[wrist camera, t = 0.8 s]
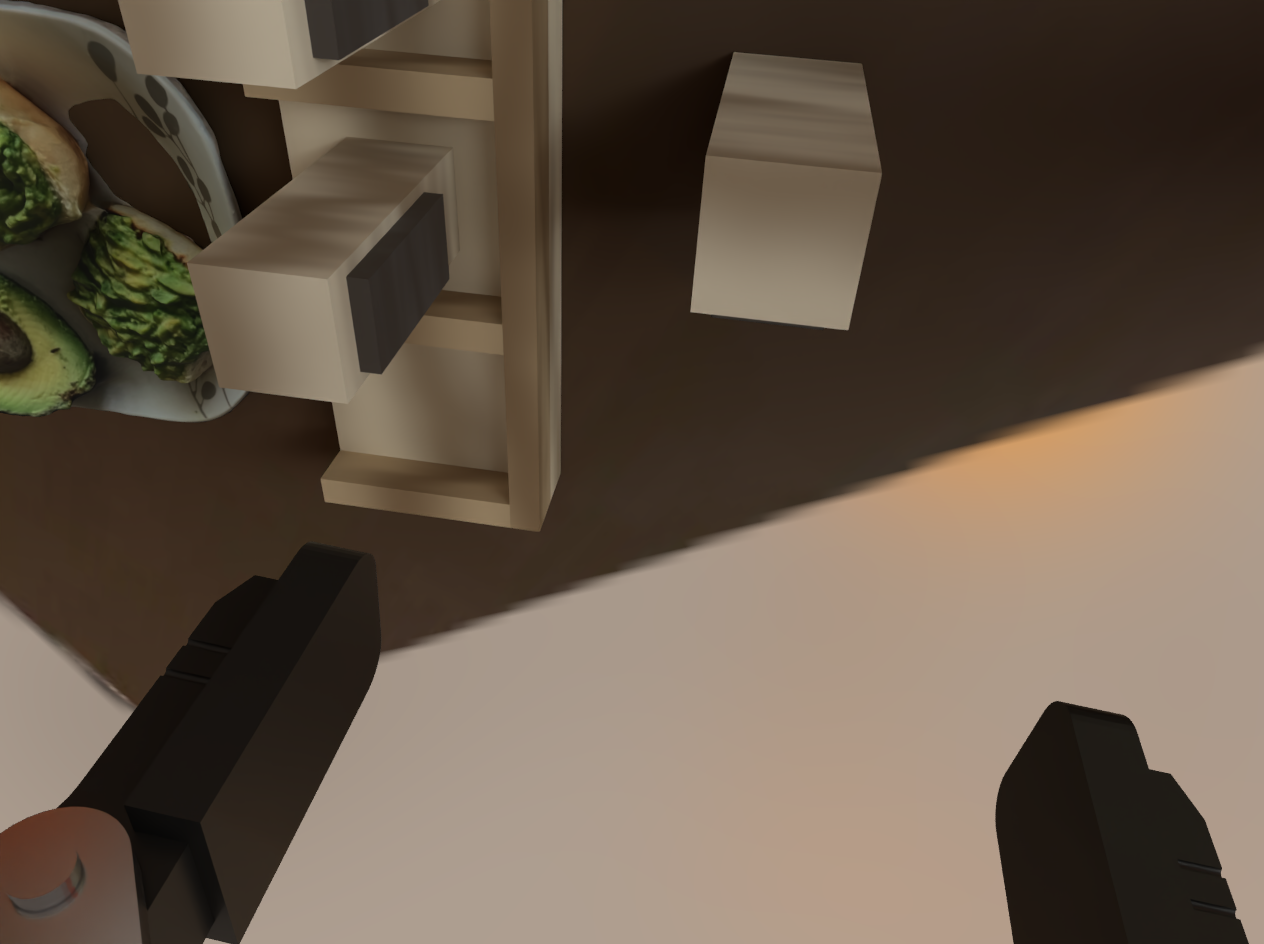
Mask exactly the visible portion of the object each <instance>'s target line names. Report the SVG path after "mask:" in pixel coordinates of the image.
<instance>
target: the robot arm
mask: <svg viewBox="0 0 1264 944" xmlns="http://www.w3.org/2000/svg"><path fill="white" fill-rule="evenodd" d="M380 649H381V627H380V614H379V601H378V587H377V574H376V564H375V559H374V557H373V555H371V554H369V553H364V552H359V551H354V550H350V549H345V548H340V547H335V546H331V545H326V544H321V543H316V542H308V543H306V544H305V545H304V546H303V547H302V548H301V549H300V550H299V551H298V552H297V554H296V555H295V557H294V558H293V560H292V561H291V563H290V564H289V566H288V567H287V568H286V570H285V571H284V573H283V574H282V576H281V577H280V579H279V580H275V579H270V578H265V577H261V576H256V575H255V576H253V577H252V578H250V579H249V580H247V581H246V582H244V583H243V584H242V585H240V586H239V587H237V588H236V589H234V590H233V591H231V592H230V593H228V594H227V595H225V596H224V597H223V598H221V599H220V600H218V601H217V602H215V603H214V605H213V606H212V607H211V609H210V610H209V611H208V613H207V614H206V615H205V617H204V618H203V619H202V621H201V622H200V623H199V625H198V626H197V627H196V629H195V630H194V631H193V633H192V634H191V635H190V637H189V638H188V643H187V645H186V646H182V648H181V649H180V650H179V652H178V653H177V654H176V656H175V657H174V658H173V660H172V661H171V662H170V664H169V665H168V666H167V668H166V673H165V675H164V676H160V677H159V678H158V680H157V681H156V682H155V684H154V685H153V686H152V688H151V689H150V690H149V692H148V693H147V694H146V696H145V697H144V698H143V700H142V701H141V702H140V704H139V705H138V706H137V708H136V709H135V710H134V712H133V713H132V714H131V716H130V717H129V718H128V720H127V721H126V722H125V724H124V725H123V726H122V728H121V729H120V731H119V732H118V733H117V735H116V736H115V737H114V739H113V740H112V741H111V743H110V744H109V745H108V747H107V748H106V749H105V751H104V752H103V753H102V755H101V756H100V757H99V759H98V760H97V761H96V763H95V764H94V766H93V767H92V768H91V769H90V771H89V772H88V773H87V775H86V776H85V777H84V779H83V780H82V781H81V783H80V784H79V785H78V786H77V788H76V789H75V790H74V791H73V792H72V794H71V795H70V796H69V797H68V798H67V799H66V800H65V801H64V802H63V803H62V804H61V805H60V806H59V807H57V808H56V809H52V810H48V811H44V812H41V813H38V814H36V815H33V816H30V817H28V818H26V819H24V820H22V821H20V822H18V823H16V824H14V825H12V826H11V827H9V828H8V829H6V830H5V831H3V832H2V833H0V944H203V942H204V940H205V938H209V939H214V940H218V941H222V942H226V943H230V944H240V942H241V940H242V938H243V936H244V934H245V932H246V930H247V928H248V926H249V924H250V922H251V920H252V918H253V916H254V914H255V912H256V910H257V908H258V906H259V904H260V902H261V900H262V898H263V896H264V894H265V892H266V890H267V888H268V887H269V884H270V883H271V881H272V878H273V877H274V875H275V873H276V871H277V869H278V867H279V865H280V863H281V861H282V859H283V857H284V855H285V853H286V851H287V849H288V847H289V845H290V843H291V841H292V839H293V837H294V835H295V833H296V831H297V829H298V828H299V826H300V823H301V822H302V820H303V818H304V816H305V814H306V812H307V810H308V808H309V806H310V804H311V802H312V800H313V798H314V796H315V794H316V792H317V790H318V788H319V786H320V784H321V782H322V780H323V778H324V776H325V774H326V772H327V770H328V768H329V767H330V765H331V763H332V760H333V758H334V757H335V754H336V753H337V750H338V749H339V747H340V744H341V743H342V741H343V739H344V737H345V735H346V733H347V731H348V729H349V727H350V725H351V723H352V721H353V719H354V717H355V715H356V713H357V711H358V709H359V707H360V706H361V703H362V702H363V700H364V698H365V695H366V694H367V692H368V690H369V687H370V685H371V683H372V680H373V677H374V674H375V672H376V668H377V665H378V660H379V655H380ZM996 832H997V839H998V845H999V852H1000V858H1001V864H1002V871H1003V877H1004V884H1005V890H1006V896H1007V903H1008V910H1009V916H1010V923H1011V929H1012V936H1013V942H1014V944H1249V943H1248V940H1247V937H1246V935H1245V932H1244V929H1243V926H1242V923H1241V920H1239V919H1236V917H1235V911H1236V907H1235V903H1234V901H1233V898H1232V895H1231V892H1230V889H1229V887H1228V884H1227V881H1226V879H1225V878H1222V877H1221V870H1222V867H1221V864H1220V861H1219V859H1218V856H1217V853H1216V850H1215V847H1214V845H1213V842H1212V839H1211V836H1210V833H1209V831H1208V828H1207V825H1206V822H1205V820H1204V818H1203V817H1202V816H1201V815H1200V813H1199V812H1198V810H1197V809H1196V808H1195V806H1194V805H1193V804H1192V802H1191V801H1190V800H1189V798H1188V797H1187V795H1186V794H1185V793H1184V791H1183V790H1182V789H1181V787H1180V786H1179V785H1178V783H1177V782H1176V781H1175V779H1174V778H1173V777H1172V775H1171V774H1169V773H1164V772H1159V771H1155V770H1150V769H1149V768H1148V765H1147V762H1146V759H1145V756H1144V753H1143V749H1142V746H1141V743H1140V740H1139V737H1138V734H1137V731H1136V729H1135V726H1134V724H1133V723H1132V721H1131V720H1130V719H1129V718H1128V717H1126V716H1124V715H1121V714H1116V713H1111V712H1107V711H1102V710H1097V709H1093V708H1088V707H1083V706H1078V705H1074V704H1069V703H1064V702H1059V701H1056V702H1053V703H1051V704H1050V705H1049V706H1048V707H1047V708H1046V710H1045V711H1044V713H1043V714H1042V716H1041V717H1040V719H1039V721H1038V722H1037V724H1036V725H1035V727H1034V729H1033V730H1032V732H1031V733H1030V735H1029V736H1028V738H1027V740H1026V742H1025V743H1024V744H1023V746H1022V748H1021V749H1020V751H1019V752H1018V754H1017V756H1016V757H1015V759H1014V760H1013V762H1012V764H1011V765H1010V767H1009V769H1008V770H1007V772H1006V773H1005V775H1004V777H1003V779H1002V782H1001V784H1000V788H999V792H998V796H997V802H996Z"/></svg>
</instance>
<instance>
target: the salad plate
mask: <svg viewBox="0 0 1264 944" xmlns="http://www.w3.org/2000/svg"><path fill="white" fill-rule="evenodd" d="M108 98H109V99H114V100H116V101H117V102H118V103H119V104H120V105H122V106H123V107H124V108H125V109H126V110H128V111H129V112H130V113H131V114H132V115H133V116H135V117H136V118H137V119H138V120H139V121H140V122H141V123H142V124H143V125H144V126H145V127H146V128H147V129H148V130H149V131H150V132H151V133H152V134H153V135H154V137H155V138H156V140H157V141H158V142H159V143H160V144H161V145H162V147H163V148H164V149H165V150H166V151H167V152H168V154H169V155H170V156H171V157H172V158H173V159H174V161H175V162H176V164H177V166H178V167H179V169H180V170H181V172H182V174H183V175H184V177H185V179H186V181H187V183H188V185H189V188H190V189H191V190H192V191H193V193H194V195H195V197H196V200H197V202H198V205H199V208H200V210H201V214H202V217H203V219H204V222H205V225H206V228H207V231H208V234H209V237H210V240H211V243H213V242H214V241H215V240H216V239H218V238H219V237H220V236H222V235H223V234H224V233H225V232H227V231H228V230H229V229H230V228H232V227H233V226H234V225H236V224H237V223H238V222H239V221H241V220H242V216H241V213H240V209H239V206H238V203H237V200H236V197H235V195H234V192H233V190H232V187H231V185H230V182H229V180H228V177H227V174H226V172H225V169H224V166H223V164H222V161H221V158H220V152H219V148H218V143H217V140H216V137H215V134H214V132H213V131H212V129H211V127H210V126H209V124H208V122H207V121H206V119H205V118H204V116H203V115H202V113H201V112H200V110H199V109H198V107H197V106H196V104H195V103H194V101H193V100H192V98H191V97H190V95H189V94H188V92H187V91H186V90H185V88H184V87H183V85H182V84H181V83H180V82H179V81H178V80H177V79H176V78H175V77H167V76H156V75H146V74H137V71H136V67H135V63H134V60H133V56H132V52H131V48H130V44H129V40H128V37H127V33H126V31H124V30H123V29H121V28H120V27H118V26H116V25H114V24H111V23H108V22H106V21H103V20H100V19H97V18H95V17H92V16H89V15H85V14H79V13H75V12H71V11H66V10H62V9H58V8H53V7H49V6H45V5H39V4H33V3H30V2H24V1H9V0H0V413H5V414H10V415H19V416H36V417H41V416H46V415H49V414H51V413H53V412H55V411H57V410H63V409H70V408H71V407H81V408H90V409H96V410H102V411H113V412H119V413H122V414H125V415H131V416H142V417H147V418H152V419H159V420H166V421H178V422H206V421H211V420H214V419H217V418H219V417H221V416H223V415H225V414H227V413H229V412H231V411H232V410H233V409H234V408H235V407H236V406H237V405H238V404H239V403H240V402H241V401H242V400H243V399H244V398H245V397H246V396H247V395H248V394H249V392H250V391H243V390H236V389H228V388H220V387H219V384H218V380H217V377H216V373H215V369H214V365H213V361H212V357H211V354H210V350H209V346H208V342H207V338H206V335H205V331H204V327H203V323H202V319H201V315H200V312H199V308H198V304H197V300H196V296H195V293H194V289H193V285H192V281H191V277H190V273H189V270H188V266H187V262H188V261H190V260H191V259H192V258H194V257H195V256H196V255H197V254H199V253H200V252H201V251H202V250H203V249H202V248H200V247H199V246H198V245H197V244H195V242H194V241H193V240H192V238H190V237H188V236H186V235H184V234H183V233H180V232H177V231H175V230H174V229H173V228H171V227H170V226H168V225H167V224H165V223H163V222H161V221H159V220H157V219H155V218H153V217H151V216H149V215H147V214H144V213H142V212H140V211H138V210H137V209H135V208H134V207H132V206H131V205H130V204H128V203H126V202H125V201H123V200H121V199H119V198H118V197H116V196H115V195H114V194H113V193H112V191H111V190H110V189H109V187H108V185H107V184H106V183H105V182H104V180H103V179H102V178H101V176H100V175H99V174H98V172H97V171H96V170H95V169H94V168H93V167H92V165H91V163H90V162H89V160H88V159H87V157H86V149H87V146H88V144H87V142H86V140H85V138H84V137H83V136H82V134H81V133H80V132H79V131H78V130H77V128H76V127H75V126H74V125H73V124H72V122H71V121H70V119H69V113H68V110H69V109H70V108H71V107H72V106H73V105H76V104H81V103H83V102H86V101H89V100H99V99H108Z"/></svg>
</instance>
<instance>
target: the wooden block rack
mask: <svg viewBox="0 0 1264 944" xmlns="http://www.w3.org/2000/svg"><path fill="white" fill-rule="evenodd" d="M118 2H119V6H120V10H121V14H122V17H123V21H124V25H125V29H126V33H127V37H128V40H129V44H130V48H131V52H132V56H133V60H134V63H135V67H136V71H137V74H146V75H156V76H167V77H177V78H187V79H197V80H207V81H218V82H228V83H238V84H243V88H244V93H245V97H254V98H264V99H274V100H279V105H280V110H281V116H282V122H283V127H284V133H285V139H286V144H287V150H288V156H289V161H290V167H291V173H292V178H293V180H292V181H290V182H289V183H288V184H286V185H285V186H284V187H283V188H281V189H280V190H279V191H278V192H276V193H275V194H274V195H272V196H271V197H270V198H269V199H267V200H266V201H265V202H264V203H262V204H261V205H260V206H258V207H257V208H256V209H255V210H253V211H252V212H251V213H250V214H248V215H247V216H246V217H244V218H243V219H242V220H241V221H239V222H238V223H237V224H236V225H234V226H233V227H232V228H230V229H229V230H228V231H227V232H225V233H224V234H223V235H222V236H220V237H219V238H218V239H216V240H215V241H214V242H213V243H211V244H210V245H209V246H208V247H206V248H205V249H204V250H202V251H201V252H200V253H199V254H197V255H196V256H195V257H194V258H192V259H191V260H190V261H188V262H187V266H188V270H189V273H190V277H191V281H192V285H193V289H194V293H195V296H196V300H197V304H198V308H199V312H200V315H201V319H202V323H203V327H204V331H205V335H206V338H207V342H208V346H209V350H210V354H211V357H212V361H213V365H214V369H215V373H216V377H217V380H218V384H219V387H220V388H228V389H236V390H243V391H251V392H259V393H267V394H274V395H282V396H290V397H297V398H305V399H313V400H321V401H328V402H332V405H333V411H334V417H335V422H336V428H337V434H338V439H339V445H340V451H339V453H338V454H337V456H336V457H335V459H334V460H333V462H332V463H331V464H330V466H329V467H328V469H327V470H326V472H325V473H324V475H323V476H322V477H321V484H322V489H323V494H324V499H325V502H330V503H337V504H344V505H351V506H358V507H365V508H373V509H380V510H387V511H394V512H401V513H408V514H416V515H423V516H430V517H437V518H444V519H451V520H458V521H466V522H473V523H480V524H487V525H494V526H501V527H508V528H516V529H523V530H530V531H537V532H540V529H541V527H542V524H543V521H544V518H545V515H546V512H547V510H548V507H549V504H550V501H551V498H552V496H553V493H554V490H555V487H556V484H557V482H558V479H559V476H560V473H561V247H562V0H118Z"/></svg>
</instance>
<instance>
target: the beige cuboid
mask: <svg viewBox="0 0 1264 944" xmlns="http://www.w3.org/2000/svg"><path fill="white" fill-rule="evenodd" d="M881 176H882V170H881V164H880V159H879V153H878V148H877V142H876V137H875V132H874V126H873V121H872V115H871V110H870V104H869V99H868V94H867V88H866V83H865V77H864V72H863V66H862V64H860V63H849V62H838V61H827V60H816V59H805V58H794V57H783V56H772V55H761V54H750V53H739V52H734V53H733V57H732V60H731V64H730V68H729V71H728V75H727V79H726V83H725V86H724V90H723V94H722V97H721V101H720V105H719V108H718V112H717V116H716V120H715V123H714V127H713V131H712V134H711V138H710V142H709V146H708V149H707V153H706V159H705V169H704V179H703V189H702V199H701V210H700V220H699V230H698V240H697V250H696V261H695V271H694V281H693V291H692V301H691V311H690V312H695V313H704V314H711V317H714V318H723V319H732V320H740V321H749V322H757V323H766V324H775V325H783V326H792V327H800V328H809V329H817V330H824V328H833V329H841V330H848V329H849V324H850V319H851V315H852V310H853V306H854V301H855V296H856V292H857V287H858V282H859V278H860V273H861V269H862V264H863V259H864V255H865V250H866V246H867V241H868V236H869V232H870V227H871V222H872V218H873V213H874V209H875V204H876V199H877V195H878V190H879V186H880V181H881Z"/></svg>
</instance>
